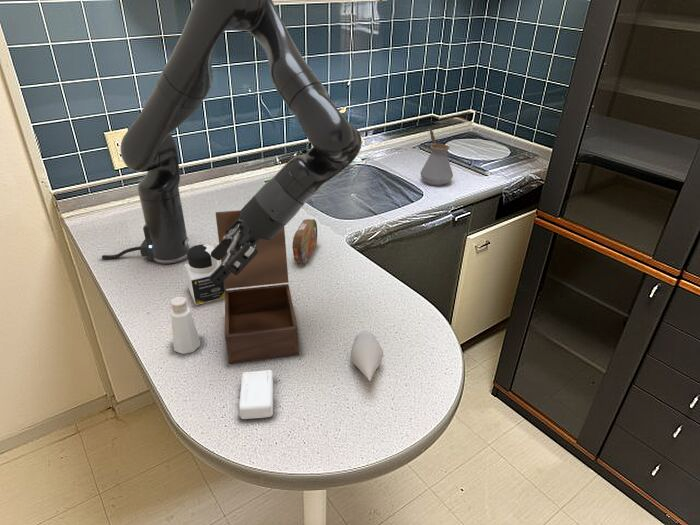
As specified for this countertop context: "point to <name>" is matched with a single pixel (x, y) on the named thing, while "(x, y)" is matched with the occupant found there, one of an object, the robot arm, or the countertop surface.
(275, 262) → the lid
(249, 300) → the box
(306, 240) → the tin
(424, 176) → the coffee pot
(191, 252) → the medicine bottle
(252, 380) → the soap
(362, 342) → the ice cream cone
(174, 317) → the pepper shaker
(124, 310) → the countertop surface
